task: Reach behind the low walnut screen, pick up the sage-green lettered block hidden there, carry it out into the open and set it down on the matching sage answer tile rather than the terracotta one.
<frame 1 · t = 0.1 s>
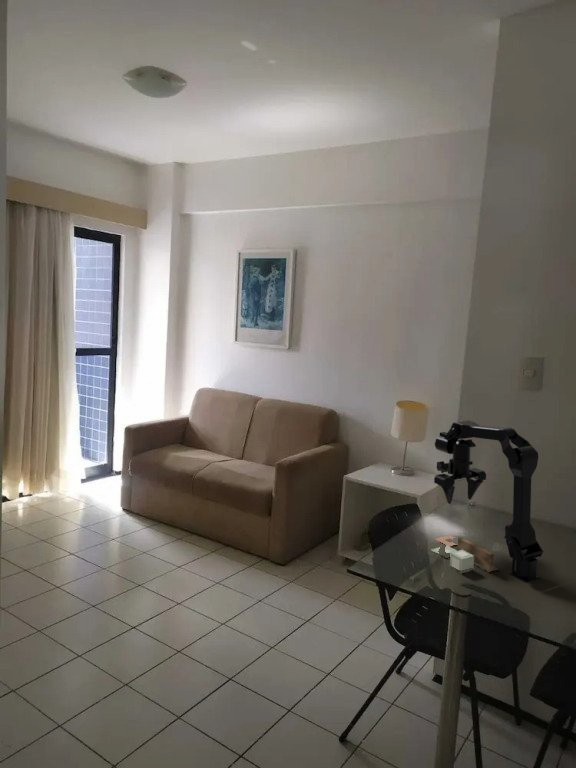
hand: (459, 501, 198), 14 cm above the table, fingers open, 9 cm apart
sage block: (461, 569, 180), on the table
terracotta pad: (449, 541, 200), on the table
sage pad: (446, 552, 191), on the table
walnut screen: (474, 563, 184), on the table
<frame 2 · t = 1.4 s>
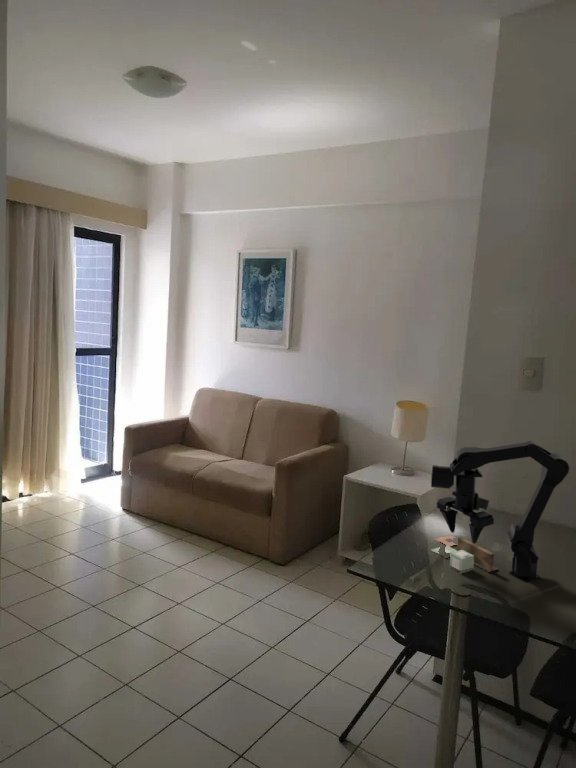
hand: (463, 537, 178), 10 cm above the table, fingers open, 9 cm apart
nothing on the table moved.
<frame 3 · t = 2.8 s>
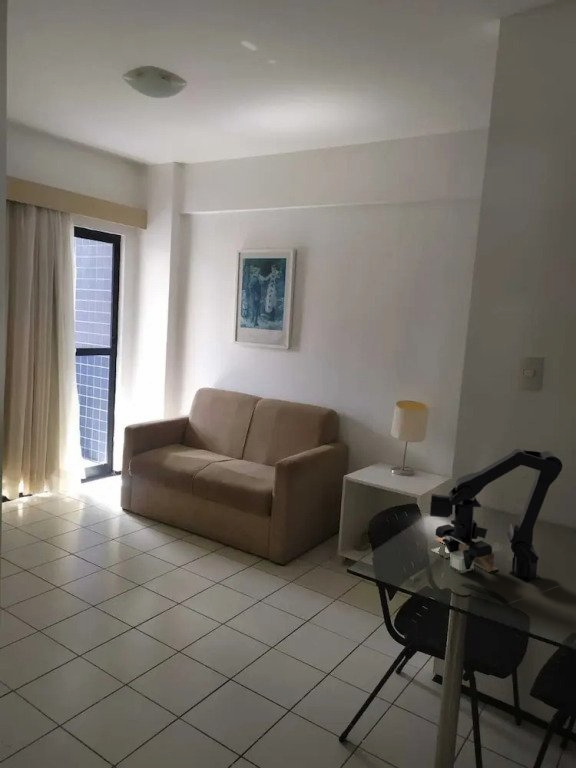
hand: (461, 565, 180), 1 cm above the table, fingers closed on sage block, 5 cm apart
sage block: (461, 569, 180), on the table, touching gripper
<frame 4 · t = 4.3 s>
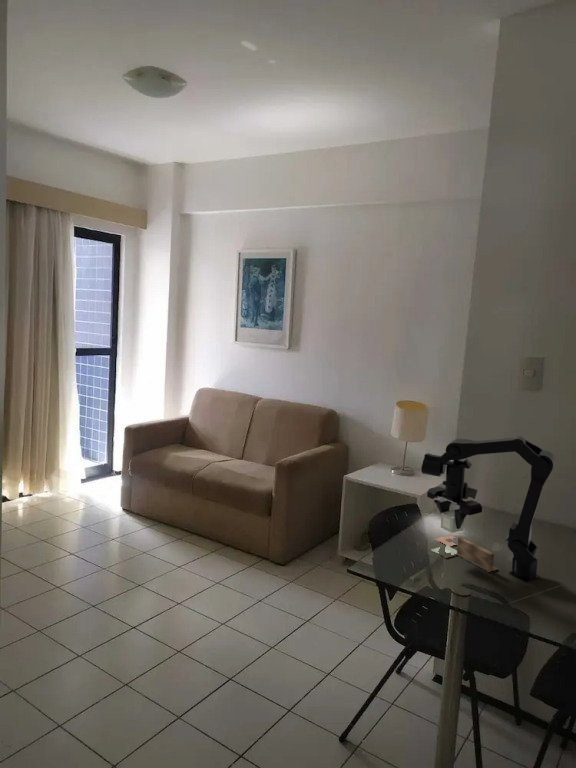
hand: (452, 525, 185), 11 cm above the table, fingers closed on sage block, 5 cm apart
sage block: (451, 528, 185), point 10 cm above the table, touching gripper
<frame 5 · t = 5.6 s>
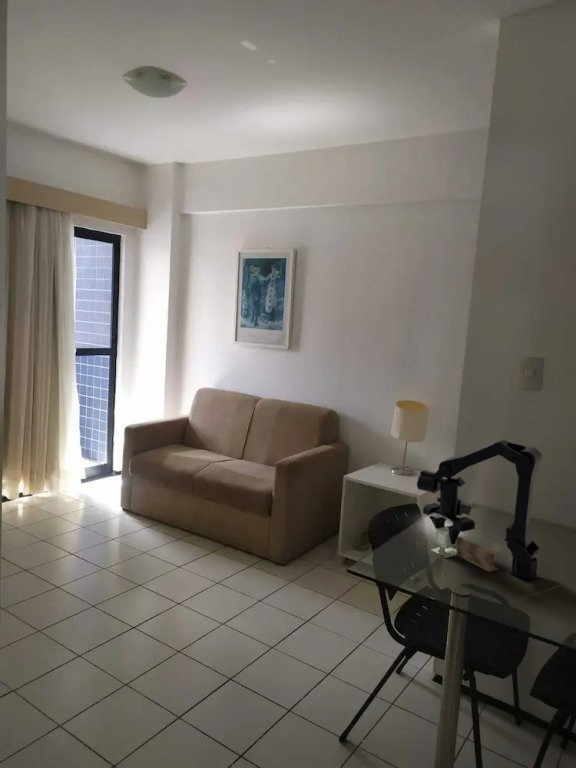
hand: (447, 541, 191), 4 cm above the table, fingers closed on sage block, 5 cm apart
sage block: (446, 544, 191), point 3 cm above the table, touching gripper
when the fingers open (3 cm above the table, at t = 6.2 s): sage block drops 1 cm, resting on sage pad.
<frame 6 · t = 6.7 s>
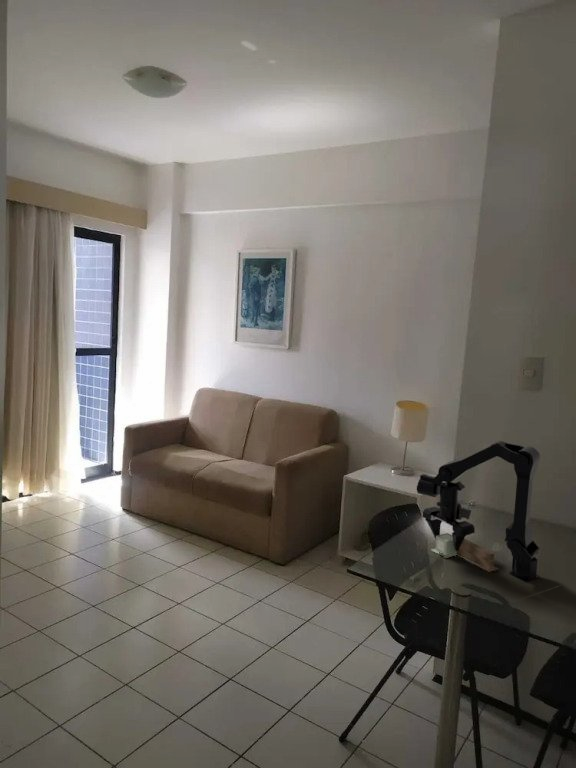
hand: (446, 545, 191), 3 cm above the table, fingers open, 9 cm apart
sage block: (446, 551, 191), resting on sage pad
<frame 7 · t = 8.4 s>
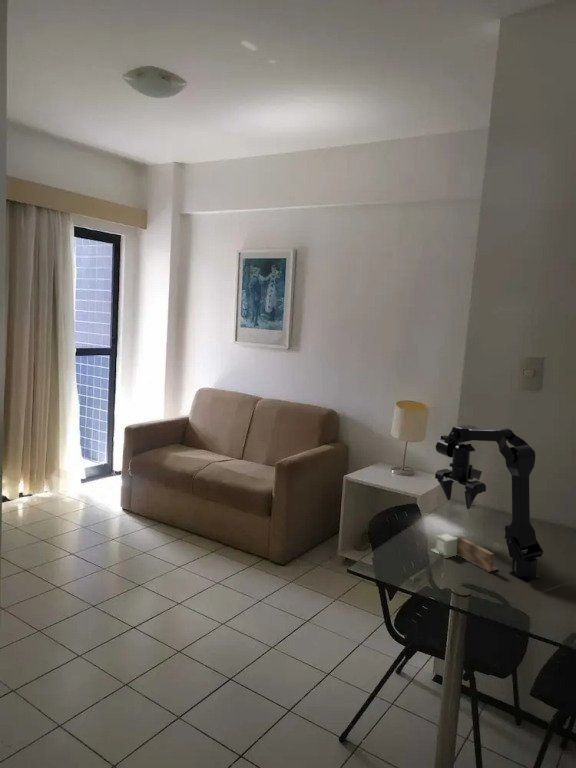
hand: (458, 504, 201), 12 cm above the table, fingers open, 9 cm apart
nothing on the table moved.
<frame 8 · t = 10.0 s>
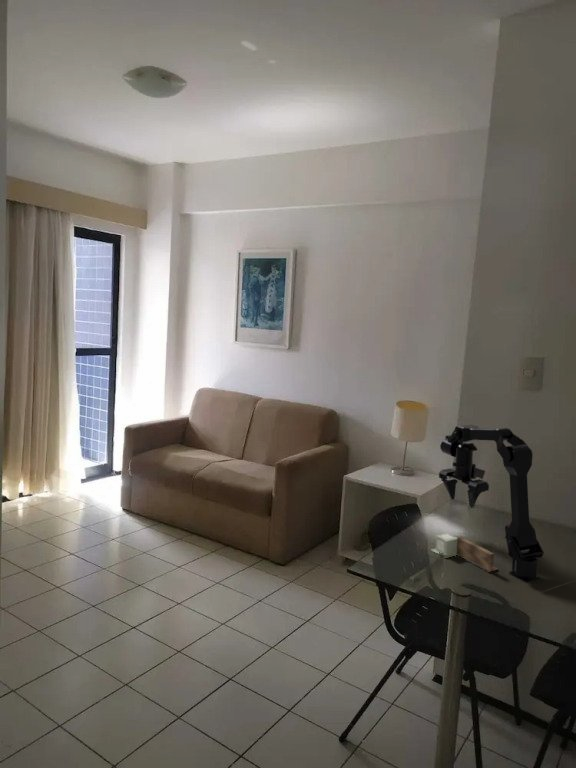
hand: (462, 503, 203), 12 cm above the table, fingers open, 9 cm apart
nothing on the table moved.
at the end: sage block inside the target area on the sage pad (0.1 cm from its centre), point 0.5 cm above the sage pad's base; sage block tilted 0°; the gripper is holding nothing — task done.
